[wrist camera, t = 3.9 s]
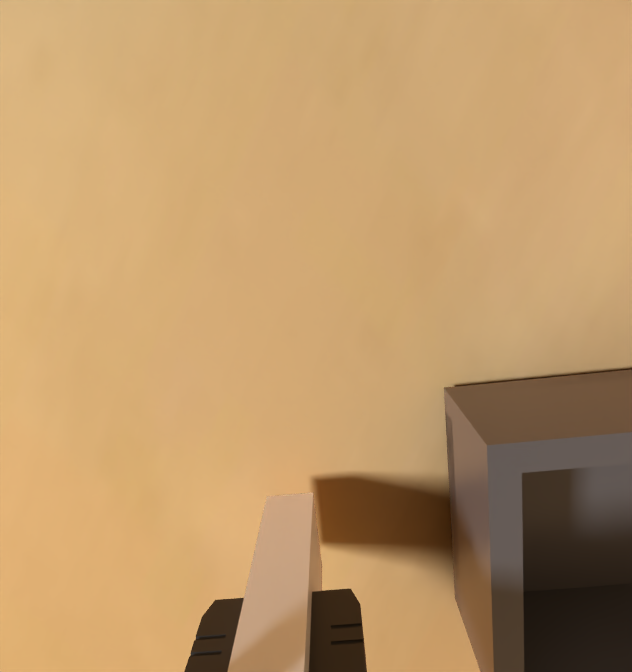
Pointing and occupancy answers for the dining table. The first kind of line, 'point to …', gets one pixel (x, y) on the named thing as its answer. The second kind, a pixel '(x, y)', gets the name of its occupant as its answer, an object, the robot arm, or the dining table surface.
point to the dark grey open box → (543, 521)
